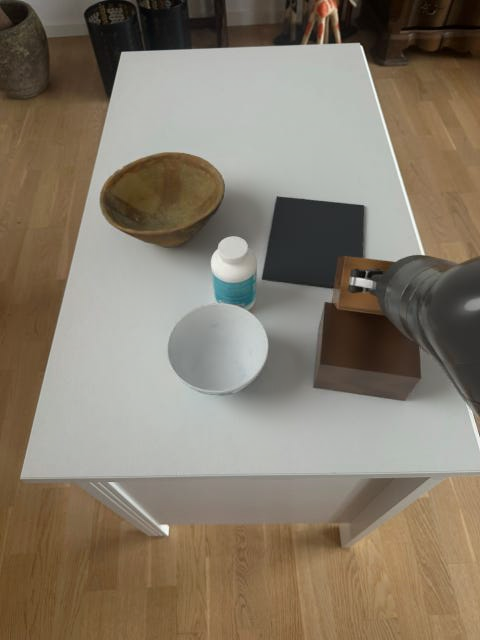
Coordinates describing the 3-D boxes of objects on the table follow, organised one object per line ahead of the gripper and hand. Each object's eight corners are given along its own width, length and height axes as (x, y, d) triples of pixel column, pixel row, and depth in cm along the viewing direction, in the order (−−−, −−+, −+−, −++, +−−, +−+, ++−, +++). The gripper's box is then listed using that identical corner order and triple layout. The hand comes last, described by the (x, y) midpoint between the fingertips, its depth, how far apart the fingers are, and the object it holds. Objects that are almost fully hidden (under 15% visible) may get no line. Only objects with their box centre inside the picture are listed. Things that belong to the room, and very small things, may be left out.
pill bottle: (262, 308, 78) (265, 257, 66) (223, 321, 76) (218, 272, 65) (246, 277, 81) (246, 224, 70) (209, 289, 80) (202, 237, 69)
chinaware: (210, 431, 66) (206, 413, 59) (156, 362, 72) (147, 338, 66) (286, 374, 71) (289, 351, 64) (228, 314, 77) (226, 287, 71)
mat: (363, 207, 91) (364, 205, 90) (361, 292, 79) (361, 290, 79) (276, 198, 93) (276, 196, 92) (261, 279, 81) (261, 277, 81)
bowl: (120, 193, 95) (107, 153, 86) (226, 190, 95) (224, 149, 86) (105, 273, 83) (89, 235, 74) (227, 269, 83) (224, 231, 74)
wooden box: (411, 312, 67) (419, 266, 66) (431, 321, 57) (440, 267, 56) (331, 302, 68) (338, 256, 67) (337, 309, 58) (345, 256, 57)
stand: (402, 340, 74) (417, 313, 67) (404, 401, 68) (421, 378, 61) (318, 328, 75) (324, 301, 68) (312, 387, 69) (319, 364, 63)
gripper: (514, 266, 39) (449, 254, 55) (360, 249, 40) (342, 243, 57) (494, 348, 40) (437, 312, 57) (348, 329, 42) (334, 300, 59)
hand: (390, 277), depth 57 cm, fingers closed
